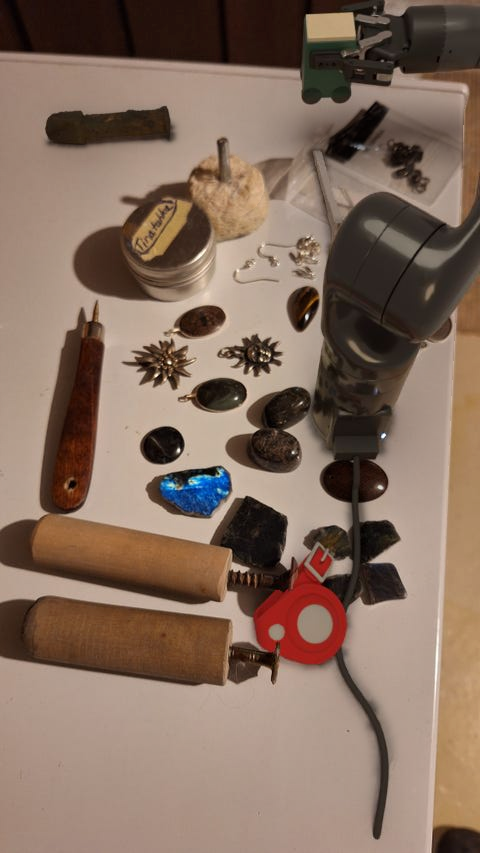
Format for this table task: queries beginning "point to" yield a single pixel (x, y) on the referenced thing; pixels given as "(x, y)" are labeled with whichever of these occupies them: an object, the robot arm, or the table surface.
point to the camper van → (326, 35)
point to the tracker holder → (304, 615)
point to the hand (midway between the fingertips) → (309, 45)
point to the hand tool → (107, 125)
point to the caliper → (328, 194)
